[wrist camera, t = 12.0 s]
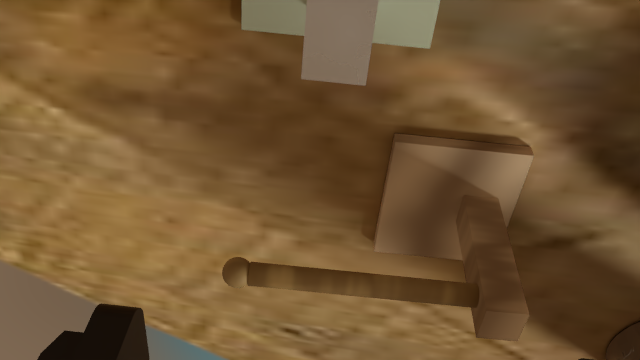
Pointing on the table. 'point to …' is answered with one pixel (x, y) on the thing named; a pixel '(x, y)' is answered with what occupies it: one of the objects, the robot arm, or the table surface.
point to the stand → (433, 233)
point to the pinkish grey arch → (338, 40)
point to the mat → (390, 26)
